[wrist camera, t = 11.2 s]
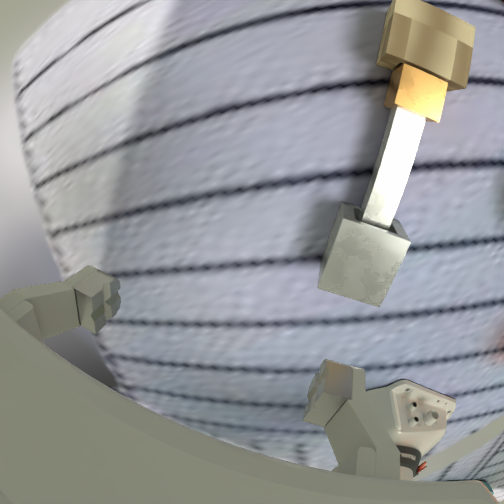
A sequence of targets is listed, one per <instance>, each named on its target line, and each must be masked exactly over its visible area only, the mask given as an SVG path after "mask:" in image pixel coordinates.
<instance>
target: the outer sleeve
mask: <svg viewBox="0 0 504 504" xmlns="http://www.w3.org/2000/svg"><path fill="white" fill-rule="evenodd" d="M360 209H361V208H360V207H357V206H355V205H352V204H349V203H346V202H343V201H341V205H340V208H339V211H338V214H337V217H336V220H335V223H334V225H333V228H332V231H331V234H330V237H329V240H328V243H327V246H326V248H325V251H324V254H323V257H322V260H321V262H320V271H319V279H318V287H317V288H319V289H322V290H325V291H328V292H331V293H335V294H338V295H341V296H344V297H348V298H351V299H354V300H357V301H361V302H364V303H367V304H370V305H374V306H377V307H380V305H381V303H382V301H383V299H384V297H385V295H386V293H387V292H388V290H389V288H390V286H391V284H392V282H393V279H394V277H395V275H396V273H397V271H398V269H399V267H400V265H401V263H402V261H403V258H404V256H405V254H406V252H407V249H408V247H409V245H410V243H411V241H410V239H409V238H408V236H407V234H406V232H405V230H404V229H403V227H402V225H401V223H400V222H399V221H397V220H394V219H393V220H392V223H391V225H390V228H389V230H388V231H386V230H384V229H381V228H378V227H375V226H372V225H369V224H366V223H364V222H361V221H360V220H359V216H358V214H359V211H360Z"/></svg>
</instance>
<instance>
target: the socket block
mask: <svg viewBox="0 0 504 504" xmlns="http://www.w3.org/2000/svg"><path fill="white" fill-rule="evenodd" d="M474 35H475V27H474V26H472V25H470V24H468V23H467V22H465V21H463V20H461V19H459V18H457V17H455V16H453V15H451V14H449V13H447V12H445V11H443V10H441V9H439V8H437V7H434V6H432V5H430V4H428V3H425V2H423V1H421V0H393V1H392V3H391V5H390V7H389V9H388V11H387V14H386V19H385V24H384V29H383V34H382V39H381V44H380V48H379V53H378V57H377V62H376V65H378V66H381V67H384V68H387V69H389V70H392V71H394V70H396V69H397V68H398V67H400V66H401V65H402V63H405V64H407V65H410V66H412V67H415V68H417V69H419V70H422V71H424V72H426V73H428V74H431V75H433V76H435V77H437V78H439V79H441V80H443V81H445V82H447V83H448V86H447V91H453V90H459V89H465V88H466V86H467V81H468V75H469V70H470V64H471V58H472V51H473V44H474ZM447 91H446V92H447Z"/></svg>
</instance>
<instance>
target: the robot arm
mask: <svg viewBox="0 0 504 504" xmlns="http://www.w3.org/2000/svg"><path fill="white" fill-rule="evenodd" d="M119 289H120V281H119V280H118V279H117V278H115V277H113V276H111V275H109V274H107V273H105V272H103V271H101V270H98V269H96V268H94V267H93V266H86V267H85V268H83V269H82V270H80V271H79V272H77V273H76V274H75V275H73V276H72V277H70V278H69V279H67V280H66V281H65V282H61V281H59V282H54V283H48V284H42V285H36V286H30V287H25V288H19V289H14V290H12V291H11V292H9V293H8V294H6V295H5V296H4V297H2V298H1V299H0V504H499V502H498V501H497V500H496V498H495V497H494V496H493V494H492V493H491V492H490V491H489V489H488V488H487V487H486V486H485V485H484V484H483V483H482V482H480V481H478V480H467V481H413V477H415V476H416V475H418V473H419V472H420V471H421V470H423V469H424V468H426V467H427V466H425V467H423V466H424V465H425V464H426V462H424V463H422V464H421V465H420V466H418V465H419V462H420V459H421V457H422V456H423V455H424V454H426V453H427V452H428V451H429V450H430V449H431V448H432V447H433V446H435V445H436V444H437V443H438V442H439V441H440V439H441V438H442V437H443V435H444V433H445V431H446V425H447V419H448V418H449V417H450V416H451V415H452V413H453V412H454V410H455V407H456V400H455V399H453V398H450V397H448V396H445V395H443V394H440V393H438V392H435V391H433V390H430V389H428V388H425V387H423V386H420V385H418V384H416V383H413V382H411V381H408V380H400V381H398V382H395V383H393V384H391V385H389V386H387V387H383V388H378V389H373V390H369V391H366V390H365V370H364V369H361V368H357V367H354V366H349V365H346V364H342V363H339V362H335V361H332V360H328V359H325V360H324V361H323V362H322V364H321V366H320V372H318V373H316V374H315V376H314V378H313V380H312V382H311V384H310V387H309V391H308V395H307V397H308V399H309V402H308V403H307V405H306V406H305V411H304V417H303V421H306V422H309V423H312V424H316V425H319V426H323V427H324V429H325V431H326V434H327V436H328V439H329V441H330V444H331V446H332V449H333V451H334V454H335V456H336V459H337V461H338V464H339V465H338V466H337V467H336V468H334V469H333V470H332V471H328V470H323V469H318V468H313V467H309V466H304V465H300V464H296V463H292V462H288V461H284V460H280V459H277V458H273V457H270V456H266V455H263V454H260V453H256V452H253V451H250V450H247V449H244V448H241V447H238V446H235V445H232V444H229V443H226V442H224V441H221V440H218V439H216V438H213V437H210V436H208V435H205V434H203V433H200V432H198V431H195V430H193V429H191V428H188V427H186V426H184V425H181V424H179V423H177V422H175V421H172V420H170V419H168V418H166V417H164V416H162V415H160V414H158V413H156V412H153V411H151V410H149V409H147V408H145V407H143V406H142V405H140V404H138V403H136V402H134V401H132V400H130V399H128V398H126V397H125V396H123V395H121V394H119V393H118V392H116V391H114V390H112V389H111V388H109V387H107V386H105V385H104V384H102V383H100V382H98V381H97V380H96V379H94V378H92V377H91V376H89V375H87V374H86V373H84V372H83V371H81V370H80V369H78V368H77V367H75V366H74V365H72V364H70V363H69V362H68V361H66V360H65V359H63V358H62V357H61V356H59V355H58V354H56V353H55V352H54V351H52V350H51V349H49V348H48V347H47V346H45V345H44V343H43V339H45V338H48V337H51V336H54V335H57V334H60V333H62V332H65V331H68V330H70V329H73V328H76V327H79V326H80V325H81V326H82V327H84V328H86V329H88V330H90V331H91V332H93V333H95V334H96V333H97V332H98V331H99V330H100V329H101V328H102V327H103V326H105V325H106V320H107V319H111V318H113V317H114V316H115V315H116V313H117V311H118V310H119V308H120V303H121V297H120V295H119V294H118V292H117V291H118V290H119ZM422 467H423V468H422Z"/></svg>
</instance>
